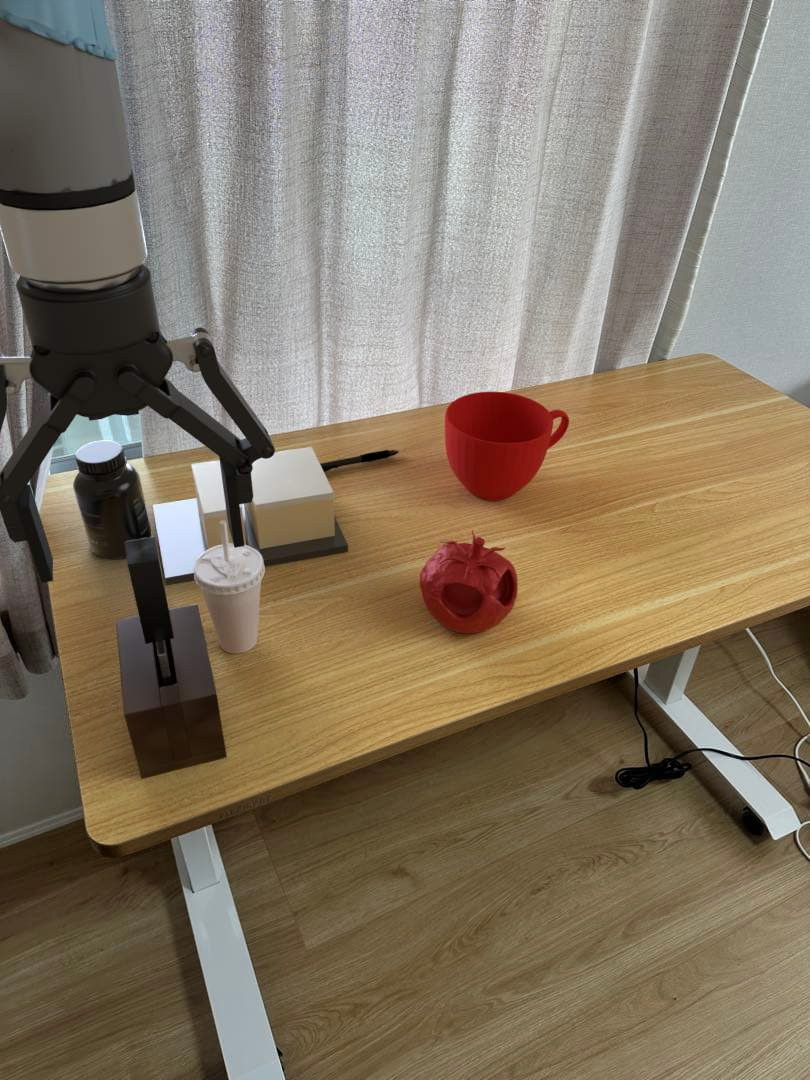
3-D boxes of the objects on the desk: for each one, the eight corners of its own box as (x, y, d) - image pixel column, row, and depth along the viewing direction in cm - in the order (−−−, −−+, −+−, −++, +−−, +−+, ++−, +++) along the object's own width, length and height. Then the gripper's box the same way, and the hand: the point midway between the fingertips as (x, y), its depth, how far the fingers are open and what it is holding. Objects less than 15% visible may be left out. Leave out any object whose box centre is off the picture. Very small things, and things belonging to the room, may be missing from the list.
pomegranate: (405, 589, 86) (408, 519, 80) (491, 572, 89) (500, 503, 83) (437, 653, 79) (443, 581, 73) (530, 633, 81) (542, 562, 76)
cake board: (166, 585, 85) (164, 578, 85) (153, 511, 96) (152, 504, 95) (348, 551, 91) (348, 544, 90) (317, 485, 101) (317, 478, 101)
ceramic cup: (588, 494, 102) (602, 424, 96) (472, 525, 95) (479, 453, 89) (531, 445, 111) (541, 378, 105) (422, 471, 105) (426, 402, 99)
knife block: (141, 778, 66) (123, 714, 61) (131, 683, 74) (115, 619, 69) (226, 757, 68) (216, 693, 63) (208, 666, 76) (197, 603, 71)
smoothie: (264, 612, 82) (253, 500, 74) (277, 656, 78) (267, 541, 69) (201, 624, 81) (182, 511, 72) (209, 669, 76) (190, 554, 67)
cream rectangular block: (210, 558, 88) (203, 513, 84) (197, 507, 95) (191, 464, 91) (246, 551, 89) (242, 507, 85) (231, 501, 96) (226, 458, 92)
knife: (166, 740, 68) (128, 578, 57) (159, 689, 73) (123, 529, 62) (192, 734, 69) (160, 572, 58) (184, 683, 73) (153, 524, 62)
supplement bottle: (125, 517, 95) (106, 427, 87) (165, 538, 92) (148, 448, 84) (76, 545, 90) (51, 453, 83) (116, 569, 87) (93, 476, 80)
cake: (259, 549, 89) (255, 505, 85) (243, 499, 96) (238, 457, 93) (334, 536, 91) (333, 492, 88) (313, 488, 99) (311, 446, 95)
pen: (299, 479, 102) (299, 472, 101) (295, 473, 103) (295, 465, 102) (401, 459, 106) (401, 452, 106) (396, 453, 108) (396, 445, 107)
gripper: (280, 232, 53) (297, 497, 66) (-149, 265, 46) (-35, 553, 59) (307, 271, 48) (320, 552, 61) (-176, 315, 41) (-44, 621, 54)
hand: (144, 553), depth 60 cm, fingers open, 13 cm apart
